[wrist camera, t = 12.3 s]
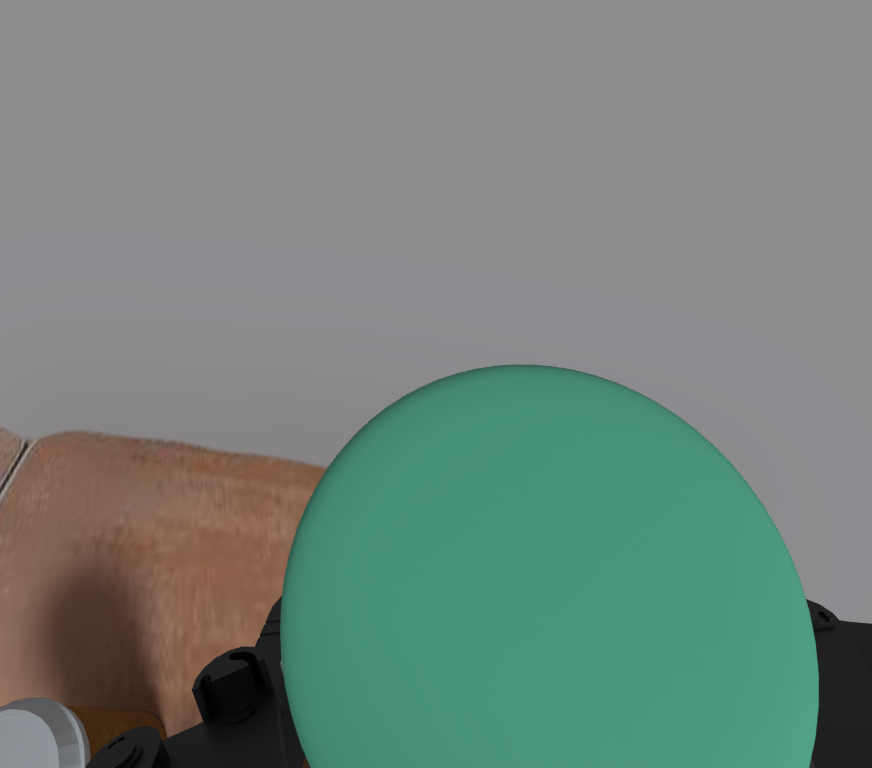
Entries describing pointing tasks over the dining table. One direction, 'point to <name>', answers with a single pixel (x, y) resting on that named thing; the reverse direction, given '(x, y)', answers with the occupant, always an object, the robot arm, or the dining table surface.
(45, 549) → the dining table surface
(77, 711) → the disposable coffee cup
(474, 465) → the milk bottle
